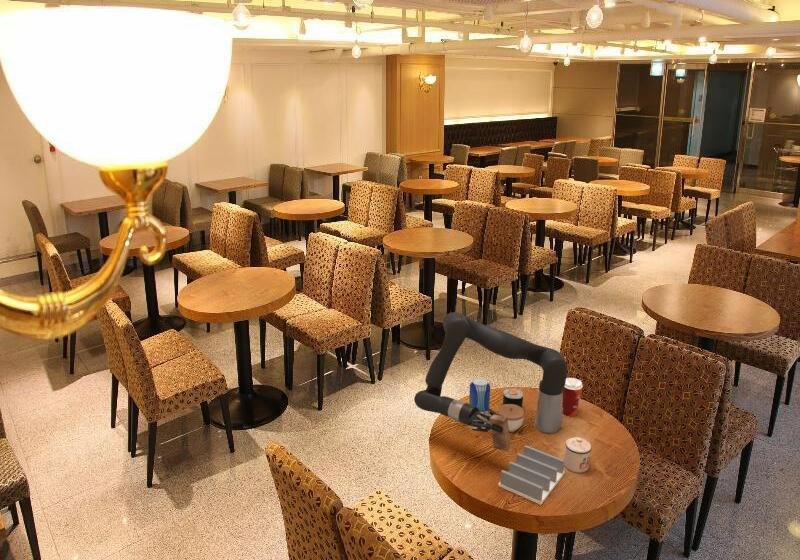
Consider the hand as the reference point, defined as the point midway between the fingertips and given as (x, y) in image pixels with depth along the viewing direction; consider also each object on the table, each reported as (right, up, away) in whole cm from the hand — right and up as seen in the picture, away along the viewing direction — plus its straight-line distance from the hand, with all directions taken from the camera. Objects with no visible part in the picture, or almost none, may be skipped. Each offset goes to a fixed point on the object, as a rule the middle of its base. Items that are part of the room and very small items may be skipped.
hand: (504, 427), depth 210 cm
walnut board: (0, -8, +3) cm, 9 cm away
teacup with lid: (+28, -15, +7) cm, 33 cm away
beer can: (-4, -4, +38) cm, 38 cm away
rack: (+9, -18, -2) cm, 20 cm away
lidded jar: (+7, -7, +29) cm, 31 cm away
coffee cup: (+34, -4, +39) cm, 52 cm away
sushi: (+11, -2, +43) cm, 44 cm away
